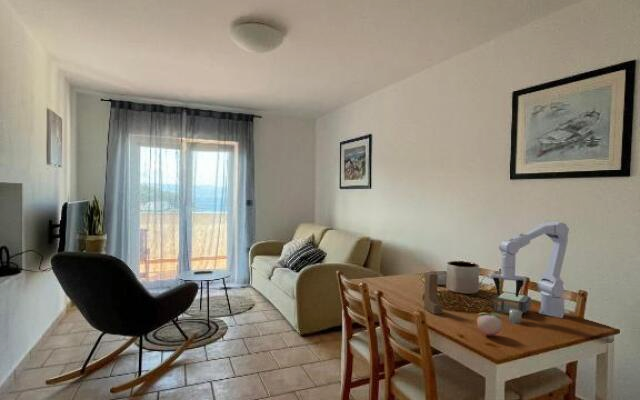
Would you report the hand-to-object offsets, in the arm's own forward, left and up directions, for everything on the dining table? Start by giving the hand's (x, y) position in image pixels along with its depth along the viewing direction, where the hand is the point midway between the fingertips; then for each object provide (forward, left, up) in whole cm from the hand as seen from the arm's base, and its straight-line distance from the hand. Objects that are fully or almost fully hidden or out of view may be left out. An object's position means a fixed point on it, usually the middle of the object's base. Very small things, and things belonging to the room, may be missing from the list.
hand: (507, 295), depth 165 cm
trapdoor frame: (0, -9, -10) cm, 13 cm away
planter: (+30, -29, -10) cm, 43 cm away
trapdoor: (-1, -9, -7) cm, 12 cm away
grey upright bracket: (+28, +18, -10) cm, 35 cm away
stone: (-5, +6, -10) cm, 12 cm away
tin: (+45, -32, -10) cm, 57 cm away
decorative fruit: (-1, +31, -10) cm, 32 cm away
